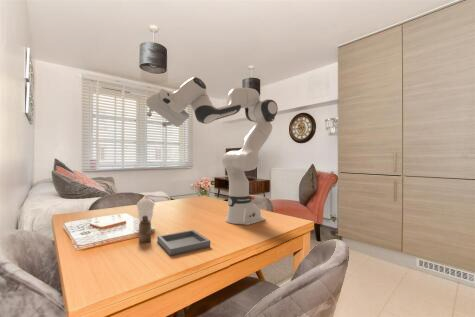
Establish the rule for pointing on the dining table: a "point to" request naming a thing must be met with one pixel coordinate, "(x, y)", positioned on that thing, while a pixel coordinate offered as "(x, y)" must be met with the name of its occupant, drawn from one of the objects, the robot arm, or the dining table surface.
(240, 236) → the dining table surface
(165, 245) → the tray
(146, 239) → the brown bottle
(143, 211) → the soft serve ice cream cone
